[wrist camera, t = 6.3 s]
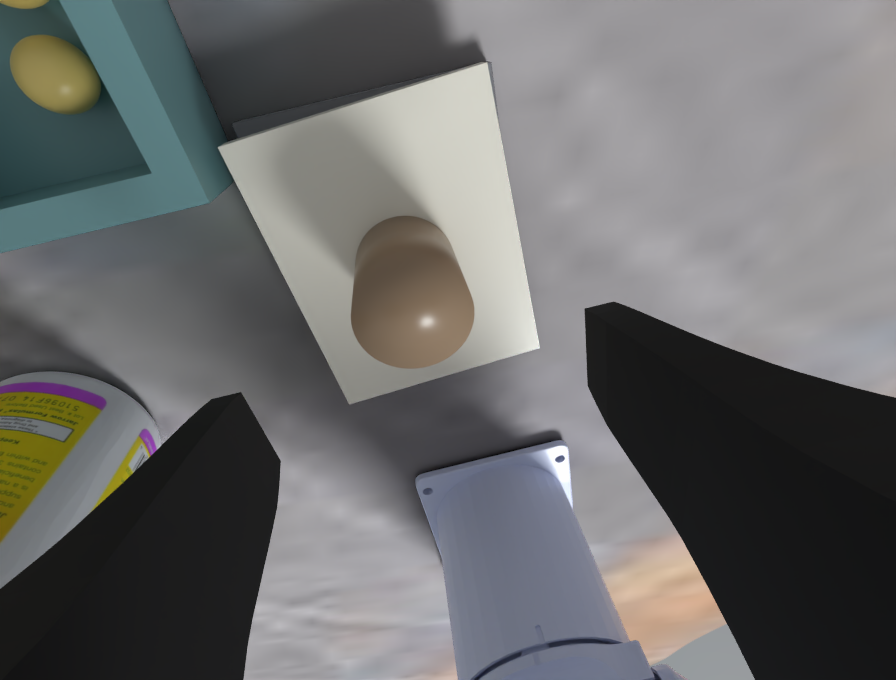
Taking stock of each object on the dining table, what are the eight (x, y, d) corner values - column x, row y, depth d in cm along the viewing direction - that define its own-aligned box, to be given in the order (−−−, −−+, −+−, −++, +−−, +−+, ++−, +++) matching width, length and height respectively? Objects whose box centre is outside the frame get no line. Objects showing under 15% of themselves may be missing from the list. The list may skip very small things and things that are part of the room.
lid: (526, 324, 19) (574, 409, 14) (351, 376, 19) (344, 477, 15) (474, 61, 14) (524, 64, 9) (234, 137, 14) (167, 177, 9)
